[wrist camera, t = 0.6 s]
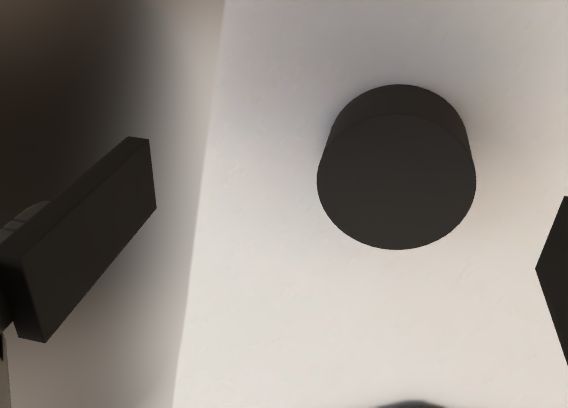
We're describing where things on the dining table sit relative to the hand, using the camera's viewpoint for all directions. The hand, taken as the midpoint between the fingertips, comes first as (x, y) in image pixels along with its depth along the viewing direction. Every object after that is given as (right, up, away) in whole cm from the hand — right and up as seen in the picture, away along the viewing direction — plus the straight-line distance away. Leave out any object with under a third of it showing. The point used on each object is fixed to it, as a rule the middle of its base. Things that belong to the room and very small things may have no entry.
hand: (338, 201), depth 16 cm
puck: (+6, +4, +17) cm, 18 cm away
